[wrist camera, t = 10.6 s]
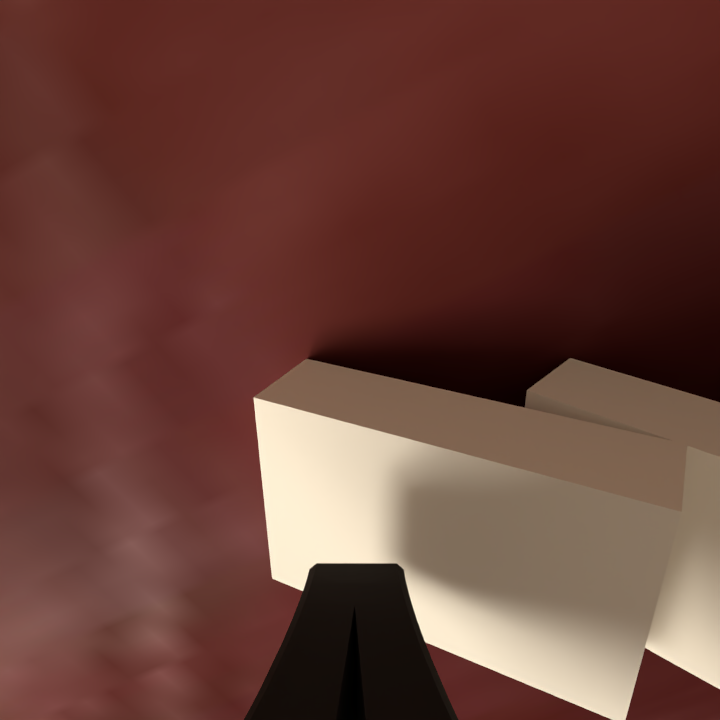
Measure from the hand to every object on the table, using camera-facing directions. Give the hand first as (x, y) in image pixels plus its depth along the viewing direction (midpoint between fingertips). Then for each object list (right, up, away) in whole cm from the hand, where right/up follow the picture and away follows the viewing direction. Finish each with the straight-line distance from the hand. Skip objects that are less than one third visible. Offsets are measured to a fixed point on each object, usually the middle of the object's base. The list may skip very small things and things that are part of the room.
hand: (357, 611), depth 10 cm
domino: (-1, +2, +3) cm, 4 cm away
